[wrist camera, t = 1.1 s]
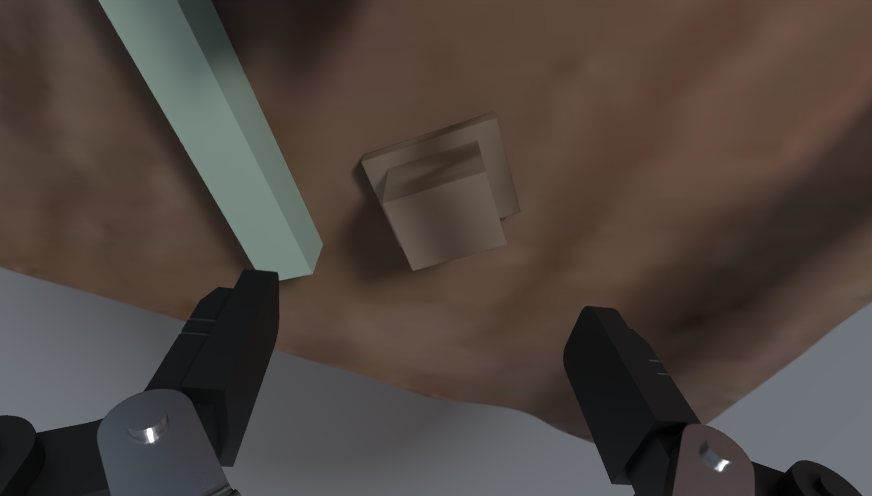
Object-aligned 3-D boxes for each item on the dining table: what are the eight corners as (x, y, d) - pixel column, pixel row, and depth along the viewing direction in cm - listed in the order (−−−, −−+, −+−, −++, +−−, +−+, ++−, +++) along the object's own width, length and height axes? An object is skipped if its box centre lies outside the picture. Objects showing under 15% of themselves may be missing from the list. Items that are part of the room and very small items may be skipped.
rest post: (494, 111, 28) (508, 145, 23) (517, 204, 31) (534, 251, 26) (363, 154, 29) (350, 196, 24) (400, 238, 33) (396, 288, 28)
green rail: (132, -179, 20) (75, -205, 17) (323, 242, 33) (312, 273, 30) (65, -155, 21) (-5, -176, 17) (280, 251, 34) (263, 283, 30)
